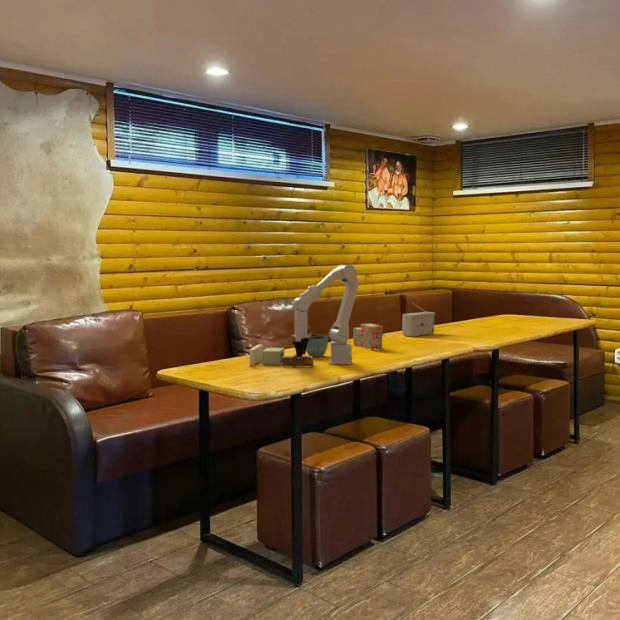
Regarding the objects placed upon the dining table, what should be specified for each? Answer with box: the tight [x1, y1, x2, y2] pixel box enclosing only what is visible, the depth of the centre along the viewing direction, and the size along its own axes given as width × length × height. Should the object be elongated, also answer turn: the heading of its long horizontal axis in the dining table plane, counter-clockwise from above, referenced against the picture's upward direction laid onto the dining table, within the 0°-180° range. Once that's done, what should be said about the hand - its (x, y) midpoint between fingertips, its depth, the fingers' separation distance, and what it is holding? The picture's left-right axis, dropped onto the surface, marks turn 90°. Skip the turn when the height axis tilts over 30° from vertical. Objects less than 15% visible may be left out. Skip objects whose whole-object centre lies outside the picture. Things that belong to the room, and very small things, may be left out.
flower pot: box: [306, 335, 329, 358], centre depth 318 cm, size 9×9×9 cm
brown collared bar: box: [281, 353, 314, 368], centre depth 293 cm, size 13×7×5 cm, turn 80°
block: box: [261, 347, 285, 365], centre depth 302 cm, size 8×10×6 cm
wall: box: [249, 344, 263, 366], centre depth 303 cm, size 2×16×7 cm, turn 170°
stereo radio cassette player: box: [401, 302, 436, 338], centre depth 390 cm, size 21×8×20 cm, turn 130°
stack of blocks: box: [352, 323, 383, 351], centre depth 345 cm, size 21×6×12 cm, turn 22°
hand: (301, 355), depth 292 cm, fingers open, 7 cm apart
